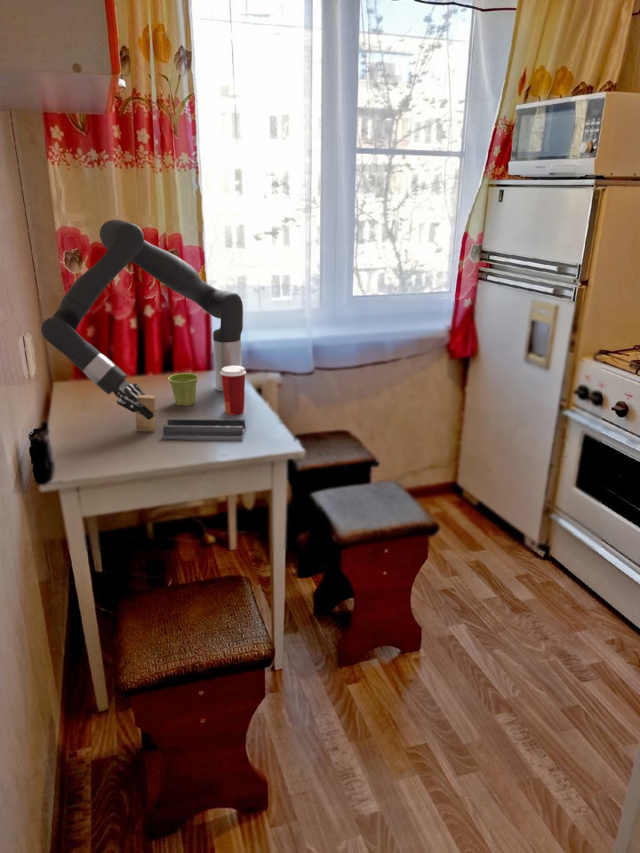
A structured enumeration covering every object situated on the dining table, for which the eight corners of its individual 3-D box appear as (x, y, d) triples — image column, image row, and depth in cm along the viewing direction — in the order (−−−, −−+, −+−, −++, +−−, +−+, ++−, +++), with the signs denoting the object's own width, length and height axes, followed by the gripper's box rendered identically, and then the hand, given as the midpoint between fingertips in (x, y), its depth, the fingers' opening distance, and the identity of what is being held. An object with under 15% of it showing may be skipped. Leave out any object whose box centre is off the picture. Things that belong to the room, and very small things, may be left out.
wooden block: (138, 427, 176) (137, 394, 172) (156, 428, 176) (155, 395, 172) (136, 430, 174) (134, 397, 170) (154, 431, 174) (152, 398, 170)
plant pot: (177, 409, 191) (175, 383, 188) (165, 401, 198) (163, 376, 195) (204, 404, 196) (203, 378, 193) (192, 396, 203) (190, 371, 200)
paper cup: (251, 409, 192) (250, 366, 187) (240, 417, 185) (238, 373, 180) (229, 406, 194) (227, 364, 189) (217, 414, 188) (215, 370, 183)
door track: (170, 426, 178) (169, 416, 177) (246, 427, 178) (245, 417, 177) (162, 439, 168) (161, 428, 167) (242, 440, 168) (241, 429, 167)
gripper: (105, 371, 161) (155, 415, 166) (121, 357, 174) (167, 399, 179) (87, 390, 163) (137, 433, 168) (104, 375, 176) (150, 415, 181)
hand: (152, 415), depth 173 cm, fingers closed on wooden block, 2 cm apart
